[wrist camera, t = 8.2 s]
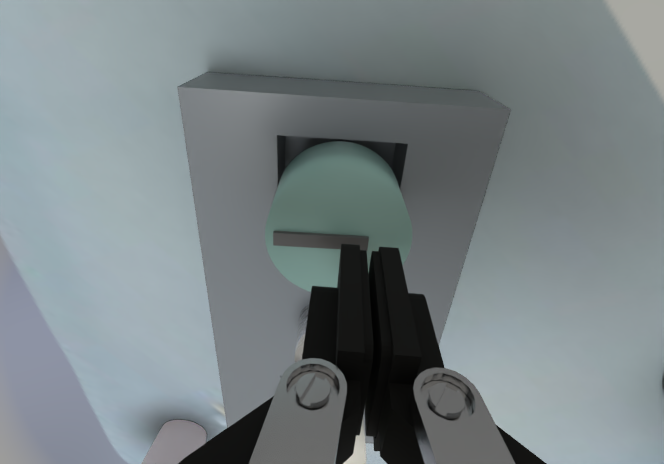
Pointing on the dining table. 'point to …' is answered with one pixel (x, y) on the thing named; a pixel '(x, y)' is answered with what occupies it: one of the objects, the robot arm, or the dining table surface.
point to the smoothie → (175, 442)
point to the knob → (334, 212)
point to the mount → (263, 178)
